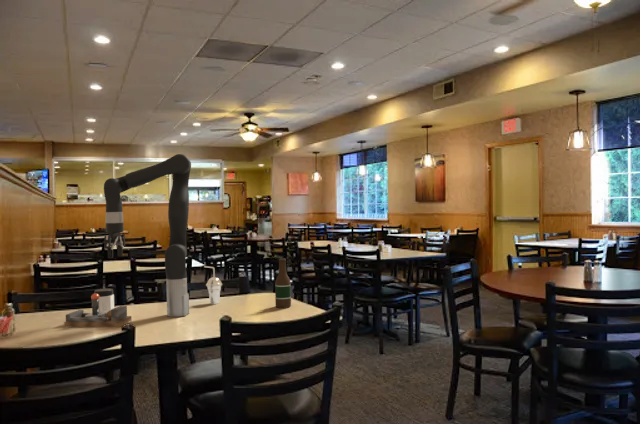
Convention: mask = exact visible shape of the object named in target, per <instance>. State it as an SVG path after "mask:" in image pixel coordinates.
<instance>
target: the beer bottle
mask: <svg viewBox="0 0 640 424" xmlns="http://www.w3.org/2000/svg"><path fill="white" fill-rule="evenodd" d="M291 284H292V283H291V279H290V277H289V276H288V272H287V259H286V258H285V257H283V258H278V273H277V277H276V279H275V283H274V286H275V287H274V288H275V289H274V290H275V292H274V295H275V297H274V298H275V301H274V302H275V307H276V308H277V307H278V309H287V308H290V307H291V306H292V290H291V289H292V287H291Z"/></svg>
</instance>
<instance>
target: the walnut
mask: <svg viewBox="0 0 640 424" xmlns="http://www.w3.org/2000/svg"><path fill="white" fill-rule="evenodd" d="M107 318H109V319H111V310H110V311H108V312H107Z"/></svg>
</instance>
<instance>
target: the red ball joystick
mask: <svg viewBox="0 0 640 424" xmlns="http://www.w3.org/2000/svg"><path fill="white" fill-rule="evenodd" d="M90 298H91V299H90V300H91V308H92V309H91V312H89V313H90V314H88V315H85V317H107V313H106V312H99V298H100V296H99V294H97V293H95V294H94V293H92V294H91V296H90Z"/></svg>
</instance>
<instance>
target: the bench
mask: <svg viewBox="0 0 640 424" xmlns="http://www.w3.org/2000/svg"><path fill="white" fill-rule="evenodd" d="M90 313H91V312H85V311H84V309H78V310H76V311H75V310H74V311H73V312H69V313H67V314H65V322H64V323H63V324H64V327H65V328H119V327H121V326H123V325H126V324H128V323H129V322H132V316H131V315H128V306H127V305H120V306H119V305H118V306H117V307H114V309H111V319H109V318H107V317H85V315H88V314H90Z"/></svg>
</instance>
